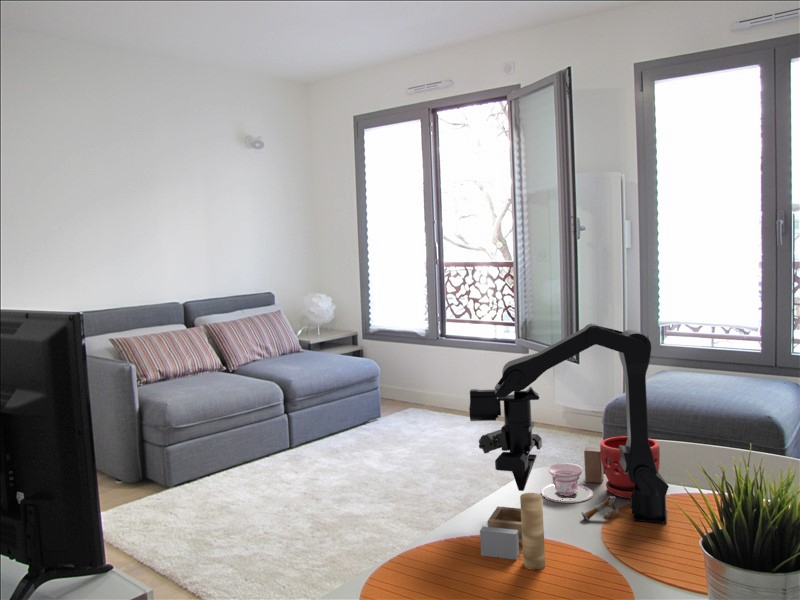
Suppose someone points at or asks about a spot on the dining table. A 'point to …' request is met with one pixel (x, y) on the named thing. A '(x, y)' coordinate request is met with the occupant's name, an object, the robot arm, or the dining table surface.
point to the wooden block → (593, 465)
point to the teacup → (566, 481)
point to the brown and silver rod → (600, 507)
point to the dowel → (532, 530)
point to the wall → (499, 542)
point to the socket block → (507, 519)
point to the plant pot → (614, 471)
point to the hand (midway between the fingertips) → (521, 490)
